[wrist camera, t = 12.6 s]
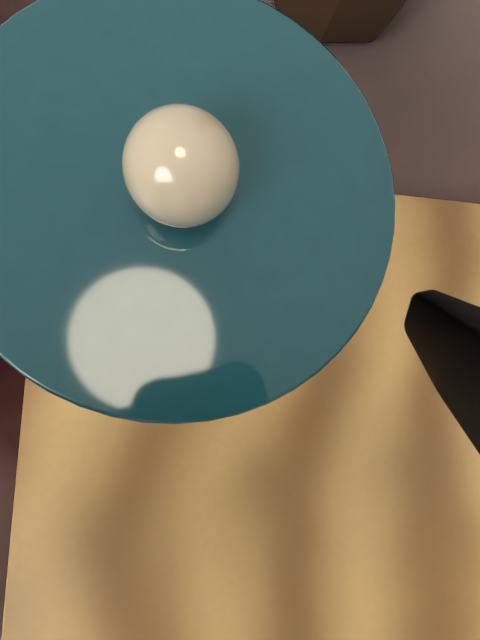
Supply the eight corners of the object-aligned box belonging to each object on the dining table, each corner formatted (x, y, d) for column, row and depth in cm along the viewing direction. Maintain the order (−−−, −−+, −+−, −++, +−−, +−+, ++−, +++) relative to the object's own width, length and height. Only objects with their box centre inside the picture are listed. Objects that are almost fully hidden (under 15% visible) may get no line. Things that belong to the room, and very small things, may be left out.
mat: (530, 214, 22) (540, 210, 21) (547, 709, 19) (559, 721, 19) (49, 161, 18) (45, 154, 17) (-7, 769, 15) (-14, 785, 15)
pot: (273, 246, 19) (496, -3, 6) (232, 400, 18) (391, 508, 5) (118, 197, 18) (-24, -231, 5) (66, 356, 17) (-282, 346, 4)
